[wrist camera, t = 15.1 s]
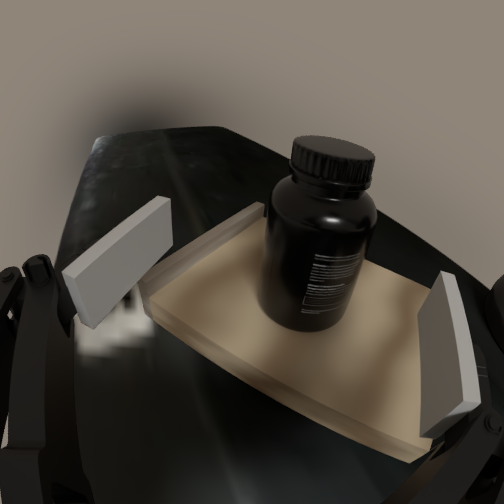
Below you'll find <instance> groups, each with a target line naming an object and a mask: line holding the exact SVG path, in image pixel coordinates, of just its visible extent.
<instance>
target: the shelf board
mask: <svg viewBox="0 0 504 504" xmlns="http://www.w3.org/2000/svg"><path fill="white" fill-rule="evenodd" d="M264 206H265V205H264V204H262V203H259V202H255V203H253V204H252V205H250V206H248V207H247V208H245V209H244V210H242V211H240V212H239V213H237V214H235V215H234V216H232V217H230V218H229V219H227V220H226V221H224V222H222V223H221V224H219V225H218V226H216V227H214V228H213V229H211V230H209V231H208V232H206V233H205V234H203V235H202V236H200V237H198V238H197V239H195V240H194V241H192V242H190V243H189V244H187V245H186V246H184V247H183V248H181V249H179V250H178V251H176V252H175V253H173V254H172V255H170V256H169V257H167V258H166V259H164V260H162V261H161V262H159V263H158V264H156V265H155V266H153V267H152V268H150V269H149V270H148V271H147V272H146V273H145V274H144V275H143V276H142V277H141V278H140V280H139V281H138V282H139V287H140V292H141V297H142V301H143V306H144V311H145V314H146V315H147V316H149V317H150V318H151V319H153V320H154V321H155V322H157V323H158V324H159V325H161V326H162V327H163V328H165V329H166V330H168V331H169V332H170V333H172V334H173V335H174V336H176V337H177V338H179V339H180V340H182V341H183V342H184V343H186V344H187V345H189V346H190V347H192V348H193V349H194V350H196V351H197V352H199V353H200V354H202V355H203V356H205V357H206V358H208V359H209V360H211V361H212V362H214V363H215V364H217V365H218V366H220V367H222V368H223V369H225V370H226V371H228V372H229V373H231V374H233V375H234V376H236V377H237V378H239V379H241V380H242V381H244V382H246V383H247V384H249V385H251V386H252V387H254V388H256V389H257V390H259V391H261V392H262V393H264V394H266V395H267V396H269V397H271V398H273V399H274V400H276V401H278V402H280V403H282V404H283V405H285V406H287V407H289V408H291V409H292V410H294V411H296V412H298V413H300V414H302V415H304V416H306V417H308V418H309V419H311V420H313V421H315V422H317V423H319V424H321V425H323V426H325V427H327V428H329V429H331V430H333V431H335V432H337V433H340V434H342V435H344V436H346V437H348V438H350V439H352V440H355V441H357V442H359V443H361V444H364V445H366V446H368V447H370V448H373V449H375V450H377V451H380V452H382V453H385V454H387V455H390V456H392V457H395V458H397V459H400V460H402V461H405V462H407V463H411V462H412V461H414V460H416V459H417V458H419V457H421V456H422V455H424V454H425V453H427V452H428V451H429V450H430V447H431V443H432V440H433V439H431V438H422V437H419V433H420V409H421V372H420V347H419V332H418V320H417V313H418V312H419V310H420V308H421V306H422V305H423V303H424V301H425V299H426V298H427V296H428V294H429V292H430V290H431V289H429V288H427V287H425V286H422V285H420V284H418V283H416V282H414V281H412V280H409V279H407V278H405V277H403V276H401V275H398V274H396V273H394V272H392V271H390V270H387V269H385V268H383V267H381V266H378V265H376V264H374V263H372V262H369V261H367V260H364V263H363V266H362V269H361V272H360V274H359V277H358V280H357V283H356V286H355V288H354V291H353V294H352V296H351V299H350V302H349V304H348V307H347V309H346V311H345V313H344V315H343V317H342V318H341V320H340V321H339V322H338V323H337V324H335V325H334V326H332V327H331V328H328V329H326V330H323V331H319V332H312V333H304V332H297V331H293V330H289V329H287V328H284V327H282V326H280V325H279V324H277V323H275V322H274V321H273V320H272V319H270V318H269V317H268V316H267V314H266V313H265V312H264V310H263V309H262V307H261V305H260V302H259V297H258V290H259V280H260V271H261V263H262V254H263V246H264V237H265V228H266V219H267V218H265V217H263V214H264Z"/></svg>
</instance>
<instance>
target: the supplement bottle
mask: <svg viewBox="0 0 504 504" xmlns="http://www.w3.org/2000/svg"><path fill="white" fill-rule="evenodd" d="M374 162H375V156H374V154H373V153H372V152H371V151H369V150H368V149H366V148H364V147H362V146H359V145H357V144H354V143H351V142H348V141H345V140H340V139H336V138H331V137H325V136H312V135H310V136H300V137H297V138H295V139H294V141H293V147H292V154H291V159H290V161H289V171H290V173H291V174H292V175H290V176H287V177H285V178H283V179H282V180H280V181H279V182H278V183H277V184H276V185H275V186H274V188H273V189H272V191H271V193H270V196H269V202H268V211H267V219H266V228H265V237H264V246H263V254H262V263H261V271H260V280H259V290H258V297H259V302H260V305H261V307H262V309H263V310H264V312H265V313H266V314H267V316H268V317H269V318H270V319H272V320H273V321H274V322H275V323H277V324H279V325H280V326H282V327H284V328H287V329H289V330H293V331H297V332H304V333H312V332H319V331H323V330H326V329H328V328H331V327H332V326H334V325H335V324H337V323H338V322H339V321H340V320H341V318H342V317H343V315H344V313H345V311H346V309H347V307H348V304H349V302H350V299H351V296H352V294H353V291H354V288H355V286H356V283H357V280H358V277H359V274H360V272H361V269H362V266H363V263H364V260H365V257H366V254H367V251H368V248H369V245H370V242H371V239H372V236H373V232H374V229H375V226H376V221H377V211H376V207H375V204H374V202H373V200H372V198H371V197H370V196H369V195H368V194H367V193H366V192H365V190H366V189H368V188H369V187H370V185H371V181H372V177H371V175H372V171H373V167H374Z"/></svg>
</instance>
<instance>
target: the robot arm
mask: <svg viewBox="0 0 504 504" xmlns="http://www.w3.org/2000/svg"><path fill="white" fill-rule="evenodd" d="M172 245H173V238H172V221H171V201H170V199H169V198H165V197H161V196H157V197H155V198H154V199H153V200H151V201H150V202H149V203H147V204H146V205H144V206H143V207H142V208H140V209H139V210H138V211H136V212H135V213H134V214H132V215H131V216H130V217H128V218H127V219H126V220H124V221H123V222H122V223H120V224H119V225H118V226H117V227H115V228H114V229H113V230H111V231H110V232H109V233H108V234H106V235H105V236H104V237H103V238H102V237H99V238H97V239H95V240H93V241H90V242H89V243H88V244H87V245H85V246H84V247H83V248H82V250H81V249H80V250H79V251H78V252H77V253H76V255H75V254H74V255H73V256H72V257H71V258H70V259H68V260H67V261H66V262H65V263H64V264H62V265H61V266H60V267H59V268H58V269H57V270H56V271H54V269H53V266H52V264H51V261H50V258H49V257H48V256H47V255H44V254H41V255H35V256H33V257H31V258H29V259H28V260H27V261H26V262H25V263H24V264H23V266H22V269H23V271H24V274H25V276H26V277H22V274H21V272H20V270H19V268H17V267H14V266H13V267H8V268H6V269H4V270H3V271H2V272H0V449H1V444H2V439H3V434H4V429H5V424H6V420H7V416H8V444H7V446H6V447H4V448H2V449H1V450H0V491H1V499H2V504H53V500H54V504H95V503H94V499H93V494H92V490H91V487H90V484H89V481H88V479H87V478H86V476H85V474H84V472H83V469H82V464H81V458H80V451H79V443H78V434H77V424H76V412H75V397H74V319H73V317H74V316H75V315H76V314H78V316H79V318H80V321H81V323H83V324H85V325H87V326H88V327H90V328H92V329H95V328H96V327H97V325H98V324H99V323H100V322H101V321H102V320H103V319H104V318H105V316H106V315H107V314H108V313H109V312H110V311H111V310H112V309H113V308H114V306H115V305H116V304H117V303H118V302H119V301H120V300H121V299H122V298H123V297H124V296H125V294H126V293H127V292H128V291H129V290H130V289H131V288H132V287H133V286H134V285H135V284H136V283H137V282H138V281H139V280H140V278H141V277H142V276H143V275H144V274H145V273H146V272H147V271H148V270H149V269H150V268H151V267H152V266H153V265H154V264H155V263H156V262H157V261H158V260H159V259H160V258H161V257H162V256H163V255H164V254H165V253H166V252H167V251H168V250H169V248H170V247H171V246H172ZM484 308H485V315H486V319H487V322H488V325H489V327H490V330H491V332H492V334H493V336H494V337H495V339H496V341H497V342H498V344H499V346H500V347H501V348H502V350H503V351H504V275H503V276H502V277H500V278H499V279H498V280H497V281H496V282H495V284H494V285H493V287H492V289H491V290H490V292H489V293H488V295H487V297H486V299H485V305H484ZM9 310H10V311H11V313H12V314H13V316H12V318H11V319H9V317H8V315H7V314H8V312H9ZM417 320H418V332H419V347H420V372H421V409H420V433H419V437H422V438H431V439H436V438H438V437H439V436H441V435H442V434H443V433H445V441H443V442H442V443H440V444H439V445H438V446H436V447H435V448H433V449H432V450H430V451H429V452H430V453H432V452H433V451H434V452H433V453H432V454H431V455H430V456H429V457H428V458H427V459H426V461H425V462H424V463H423V464H422V465H421V466H420V467H419V468H418V469H417V470H416V471H415V472H414V473H413V474H412V475H411V476H410V477H409V478H408V479H407V480H406V481H405V482H404V483H403V484H402V485H401V486H400V487H399V488H398V489H397V490H396V491H395V492H394V493H392V494H391V495H390V496H389V497H388V498H387V499H386V500H385V501H384V502H382V503H381V504H504V423H503V419H502V417H501V416H500V414H499V413H498V412H497V411H495V410H494V409H493V408H492V400H491V392H490V385H489V379H488V378H487V376H488V373H487V369H486V362H485V357H484V354H483V353H482V351H481V349H480V347H479V345H474V344H472V341H471V337H470V332H469V327H468V323H467V319H466V315H465V311H464V307H463V303H462V299H461V296H460V292H459V289H458V285H457V282H456V279H455V276H454V275H453V274H450V273H446V272H443V271H440V273H439V275H438V277H437V279H436V281H435V283H434V285H433V287H432V289H431V290H430V292H429V294H428V296H427V298H426V299H425V301H424V303H423V305H422V306H421V308H420V310H419V312H418V313H417ZM8 412H9V413H8Z"/></svg>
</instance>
